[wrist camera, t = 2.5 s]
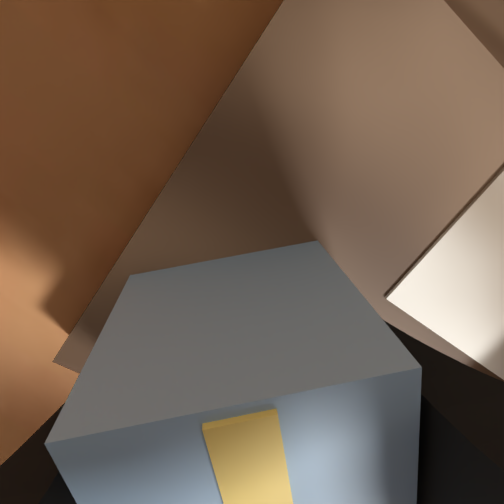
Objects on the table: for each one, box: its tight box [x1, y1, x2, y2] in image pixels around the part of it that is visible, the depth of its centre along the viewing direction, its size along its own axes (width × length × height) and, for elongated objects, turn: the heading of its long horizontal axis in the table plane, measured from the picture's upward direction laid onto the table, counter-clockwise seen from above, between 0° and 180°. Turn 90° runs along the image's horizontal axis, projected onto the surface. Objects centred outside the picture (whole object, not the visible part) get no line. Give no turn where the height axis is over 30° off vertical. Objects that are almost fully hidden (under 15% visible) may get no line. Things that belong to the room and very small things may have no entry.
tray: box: [52, 0, 504, 382], centre depth 10 cm, size 14×14×3 cm
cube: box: [44, 240, 422, 504], centre depth 8 cm, size 5×5×5 cm
